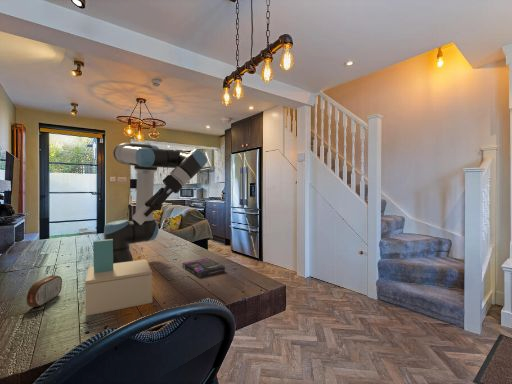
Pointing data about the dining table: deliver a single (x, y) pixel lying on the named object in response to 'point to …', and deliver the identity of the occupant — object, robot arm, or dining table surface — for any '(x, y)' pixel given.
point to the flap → (113, 265)
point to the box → (203, 267)
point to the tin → (44, 291)
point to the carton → (118, 294)
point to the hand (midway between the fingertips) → (135, 220)
